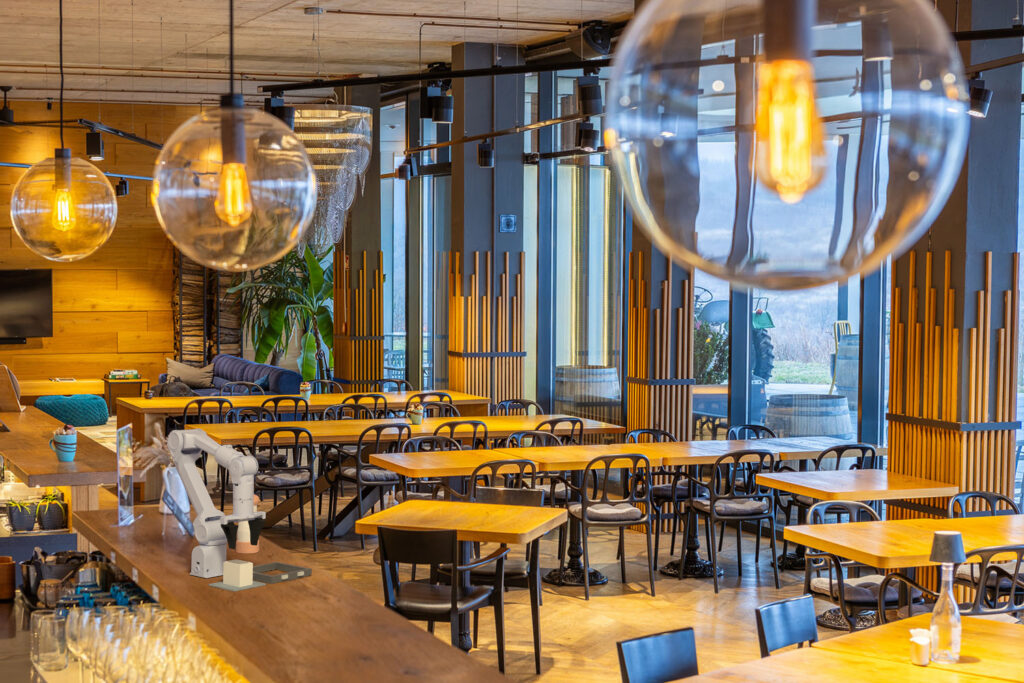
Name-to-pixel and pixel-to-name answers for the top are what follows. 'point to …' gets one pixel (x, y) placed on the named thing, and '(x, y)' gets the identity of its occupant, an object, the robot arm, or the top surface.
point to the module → (237, 573)
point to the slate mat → (235, 588)
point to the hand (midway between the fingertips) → (243, 546)
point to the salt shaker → (246, 535)
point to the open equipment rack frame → (292, 574)
